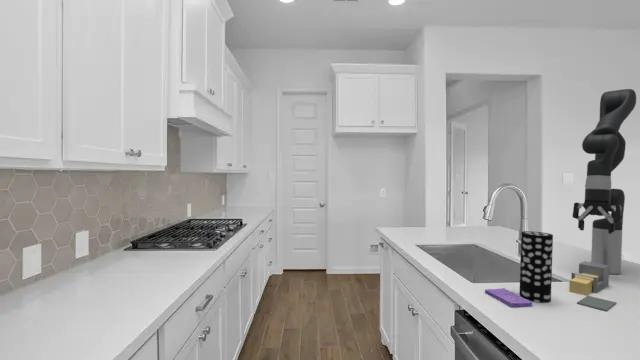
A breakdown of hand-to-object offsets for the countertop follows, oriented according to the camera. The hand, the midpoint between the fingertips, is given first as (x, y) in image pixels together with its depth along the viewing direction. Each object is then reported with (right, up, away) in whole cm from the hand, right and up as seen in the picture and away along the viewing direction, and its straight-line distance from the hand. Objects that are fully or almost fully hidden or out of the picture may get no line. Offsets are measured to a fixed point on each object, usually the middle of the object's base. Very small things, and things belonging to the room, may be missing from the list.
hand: (595, 231), depth 128 cm
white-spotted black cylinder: (-36, -18, -21) cm, 45 cm away
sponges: (-45, -18, -23) cm, 53 cm away
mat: (-20, -18, -25) cm, 37 cm away
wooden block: (-15, -18, -13) cm, 27 cm away
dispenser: (-9, -18, -9) cm, 22 cm away
